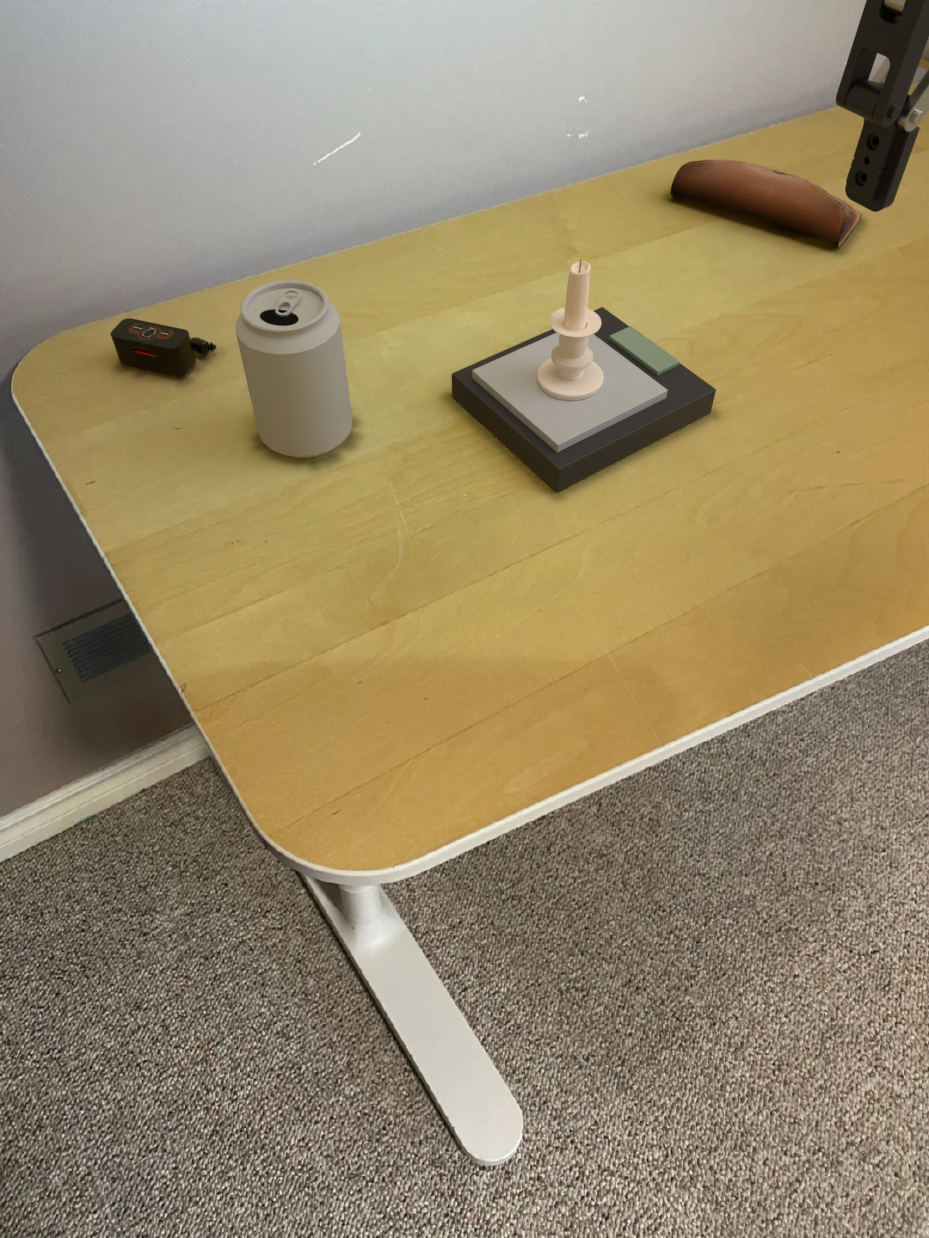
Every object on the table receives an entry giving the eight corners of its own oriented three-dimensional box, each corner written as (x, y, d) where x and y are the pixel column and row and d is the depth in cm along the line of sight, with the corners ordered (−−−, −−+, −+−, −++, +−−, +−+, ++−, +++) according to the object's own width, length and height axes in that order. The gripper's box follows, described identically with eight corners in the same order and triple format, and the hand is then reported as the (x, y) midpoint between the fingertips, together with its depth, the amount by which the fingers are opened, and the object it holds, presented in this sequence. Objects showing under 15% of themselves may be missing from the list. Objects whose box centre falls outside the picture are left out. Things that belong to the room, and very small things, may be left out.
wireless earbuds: (192, 384, 81) (183, 351, 78) (118, 368, 82) (107, 335, 80) (218, 352, 84) (210, 320, 81) (146, 337, 85) (136, 304, 83)
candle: (553, 408, 74) (563, 287, 66) (526, 368, 77) (532, 248, 69) (614, 391, 75) (631, 271, 67) (585, 354, 78) (597, 234, 70)
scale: (599, 330, 85) (603, 298, 83) (711, 413, 78) (718, 381, 76) (451, 397, 80) (450, 365, 77) (557, 493, 72) (559, 461, 70)
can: (243, 452, 76) (210, 320, 66) (286, 395, 80) (261, 264, 70) (329, 474, 74) (308, 342, 64) (368, 414, 78) (354, 283, 69)
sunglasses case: (867, 210, 96) (874, 167, 90) (835, 270, 96) (840, 232, 90) (702, 163, 103) (698, 120, 97) (672, 220, 103) (666, 181, 96)
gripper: (1077, -240, 28) (890, 260, 41) (1318, -296, 33) (1086, 165, 46) (875, -280, 32) (762, 189, 45) (1119, -325, 37) (955, 108, 50)
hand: (926, 176), depth 46 cm, fingers open, 8 cm apart
